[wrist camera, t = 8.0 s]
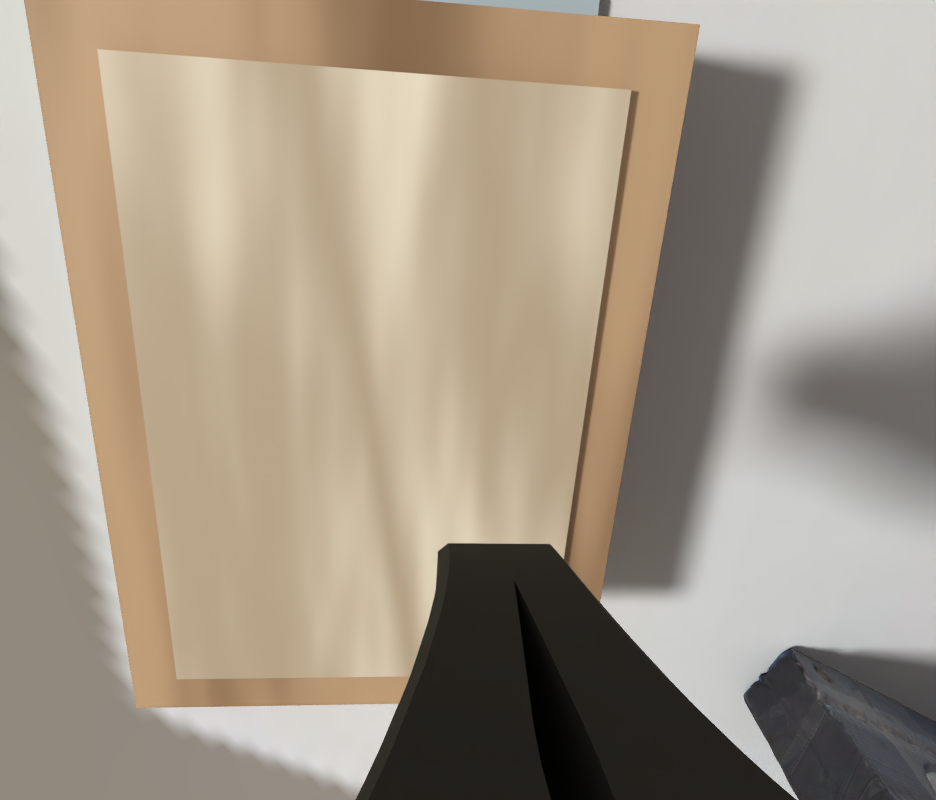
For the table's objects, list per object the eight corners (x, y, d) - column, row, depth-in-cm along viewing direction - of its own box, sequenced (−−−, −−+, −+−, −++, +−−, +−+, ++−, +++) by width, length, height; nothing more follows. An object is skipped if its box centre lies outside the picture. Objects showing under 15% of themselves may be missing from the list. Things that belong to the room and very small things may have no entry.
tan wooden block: (705, 23, 11) (10, -38, 10) (584, 707, 16) (133, 715, 15) (625, 43, 15) (123, 1, 13) (550, 590, 20) (187, 590, 19)
